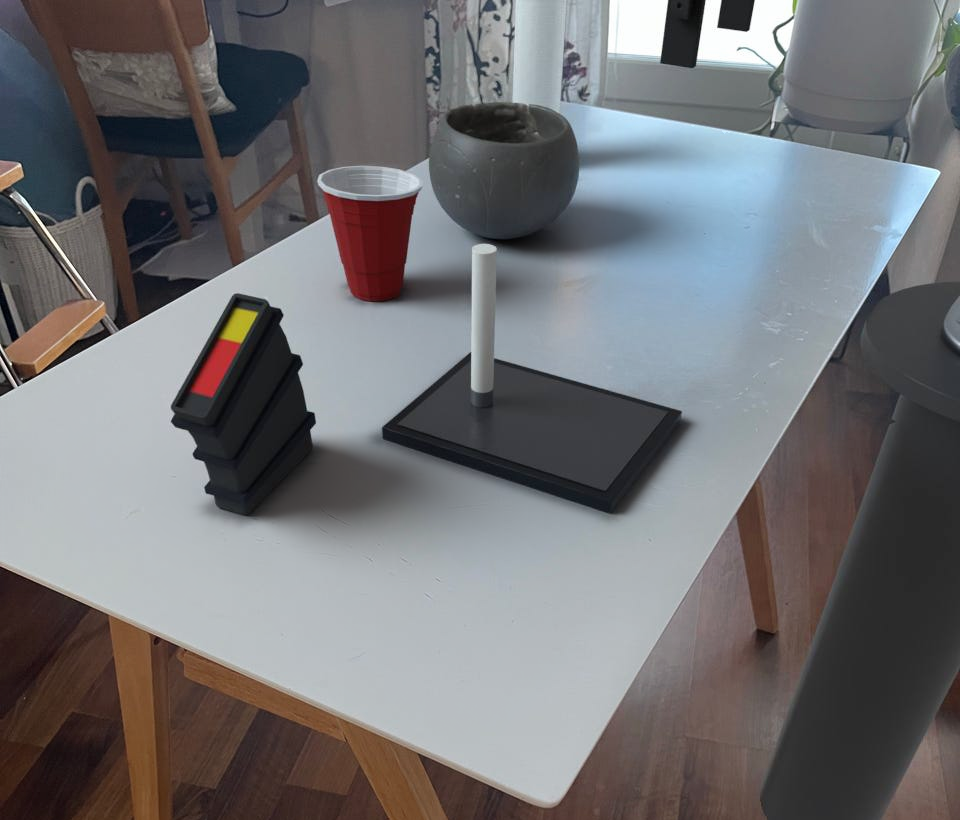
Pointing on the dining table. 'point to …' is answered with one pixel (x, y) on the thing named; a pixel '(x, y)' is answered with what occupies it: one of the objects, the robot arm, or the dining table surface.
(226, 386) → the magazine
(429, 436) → the tablet
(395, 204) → the plastic cup
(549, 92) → the paper towel roll
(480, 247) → the stylus
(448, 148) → the bowl
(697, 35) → the robot arm
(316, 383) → the dining table surface
